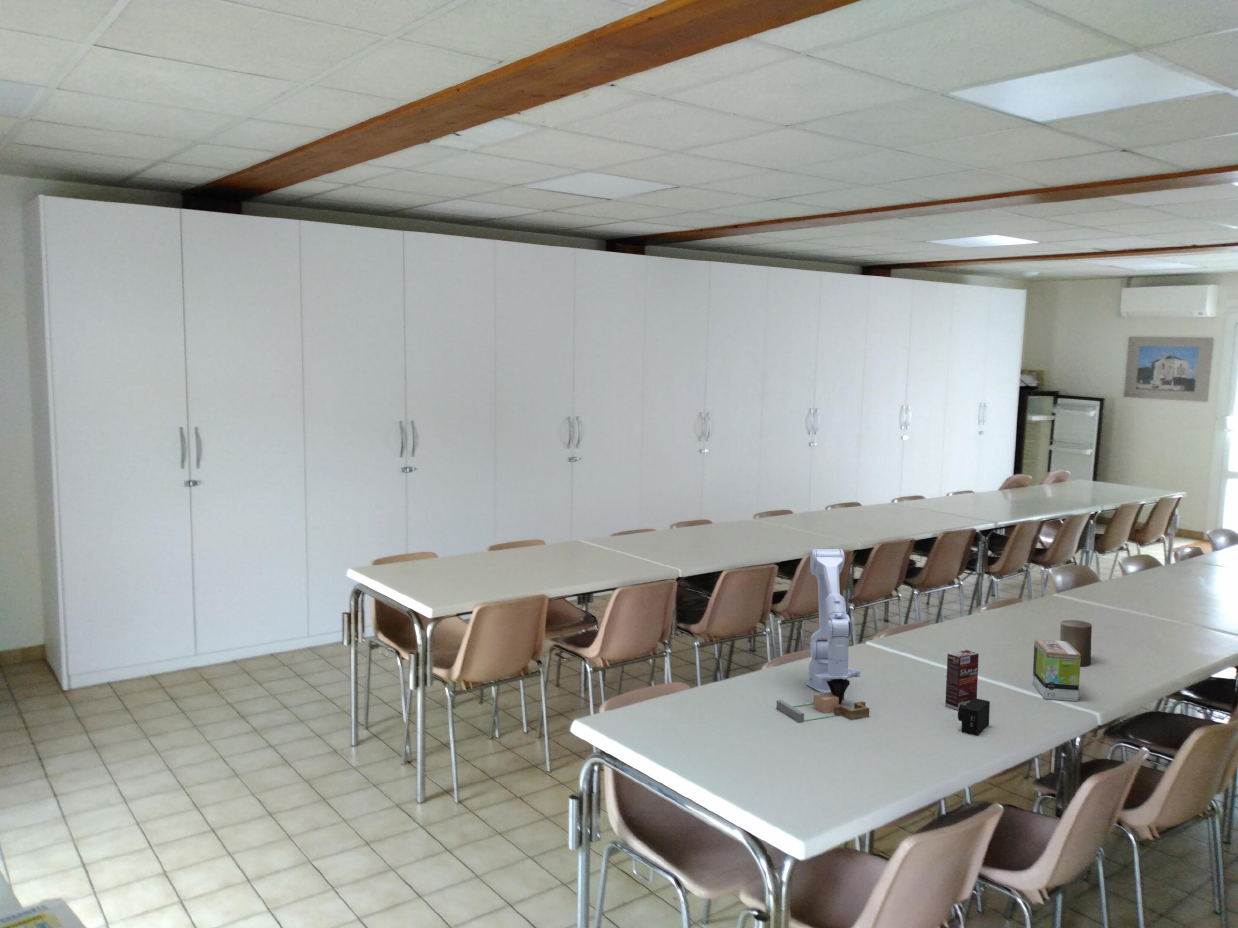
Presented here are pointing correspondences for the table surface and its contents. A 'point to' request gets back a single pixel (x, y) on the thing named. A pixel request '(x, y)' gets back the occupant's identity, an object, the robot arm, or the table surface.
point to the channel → (852, 711)
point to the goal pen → (796, 711)
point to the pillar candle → (1078, 638)
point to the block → (825, 702)
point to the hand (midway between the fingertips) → (837, 703)
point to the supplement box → (961, 678)
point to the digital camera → (974, 716)
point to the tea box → (1056, 670)
